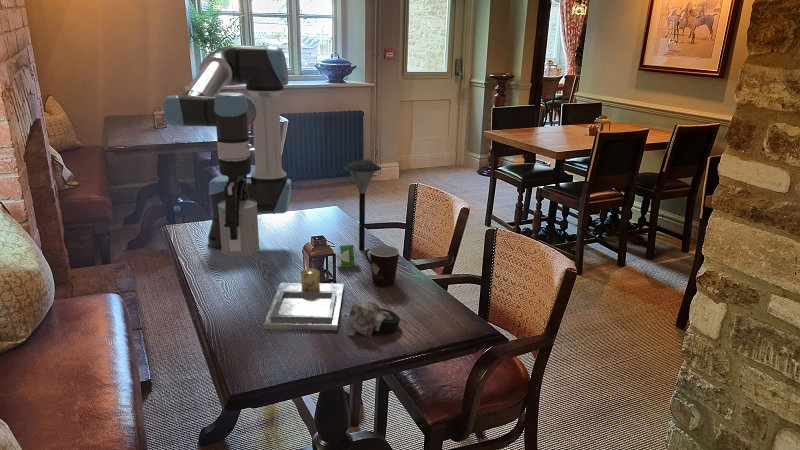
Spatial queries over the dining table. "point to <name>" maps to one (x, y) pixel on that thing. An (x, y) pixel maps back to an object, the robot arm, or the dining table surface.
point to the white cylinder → (241, 229)
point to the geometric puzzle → (347, 256)
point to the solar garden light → (362, 190)
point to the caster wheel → (371, 319)
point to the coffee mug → (383, 265)
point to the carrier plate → (306, 304)
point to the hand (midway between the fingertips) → (240, 243)
